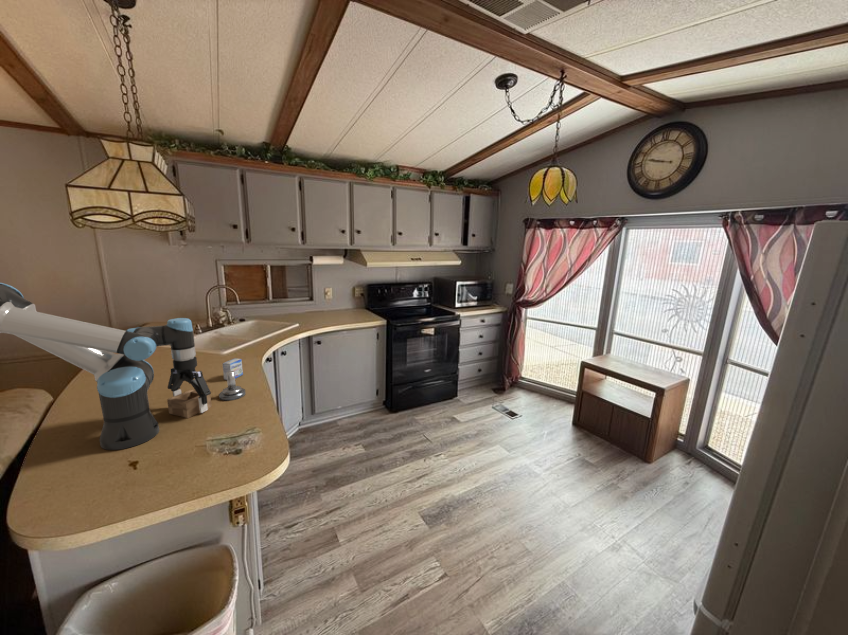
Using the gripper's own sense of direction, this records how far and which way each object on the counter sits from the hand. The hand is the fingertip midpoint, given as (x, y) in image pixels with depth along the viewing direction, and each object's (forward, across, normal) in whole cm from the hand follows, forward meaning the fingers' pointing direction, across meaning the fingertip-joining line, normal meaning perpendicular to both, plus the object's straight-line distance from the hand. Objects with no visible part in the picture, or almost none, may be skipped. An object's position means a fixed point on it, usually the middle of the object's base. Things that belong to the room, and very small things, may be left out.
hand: (191, 408), depth 133 cm
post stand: (+1, -4, -16) cm, 16 cm away
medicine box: (+1, +13, -32) cm, 34 cm away
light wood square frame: (+1, 0, 0) cm, 1 cm away
